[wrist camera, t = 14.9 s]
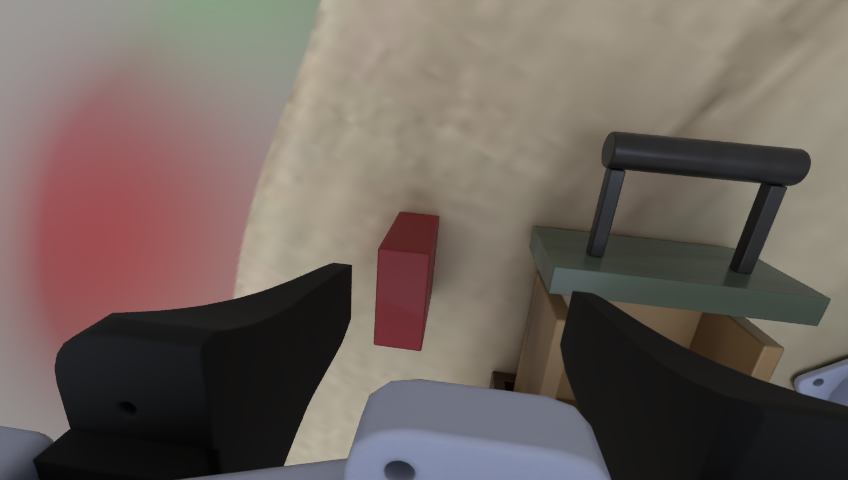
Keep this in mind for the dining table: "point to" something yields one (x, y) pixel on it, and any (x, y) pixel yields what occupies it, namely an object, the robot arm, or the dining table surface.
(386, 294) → the card box
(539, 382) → the drawer
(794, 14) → the dining table surface
